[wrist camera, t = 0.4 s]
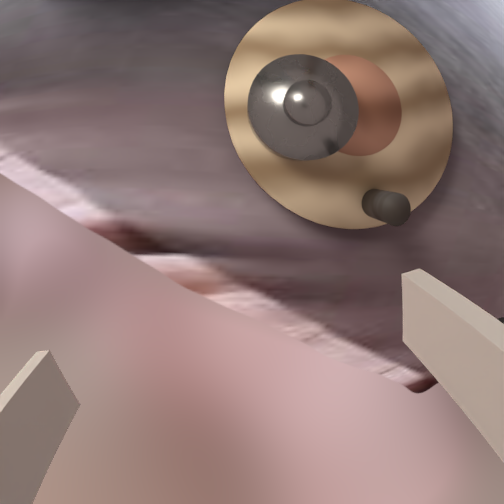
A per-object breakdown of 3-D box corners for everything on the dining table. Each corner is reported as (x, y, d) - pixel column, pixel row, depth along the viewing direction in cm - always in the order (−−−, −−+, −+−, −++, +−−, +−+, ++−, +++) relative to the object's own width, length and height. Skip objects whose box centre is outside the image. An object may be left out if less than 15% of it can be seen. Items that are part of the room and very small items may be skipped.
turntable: (202, 20, 27) (196, -11, 20) (410, 9, 27) (438, -12, 20) (256, 249, 34) (261, 270, 27) (456, 203, 34) (492, 211, 27)
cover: (236, 73, 27) (236, 58, 23) (334, 59, 27) (348, 44, 22) (259, 170, 30) (263, 170, 25) (357, 152, 29) (375, 150, 25)
